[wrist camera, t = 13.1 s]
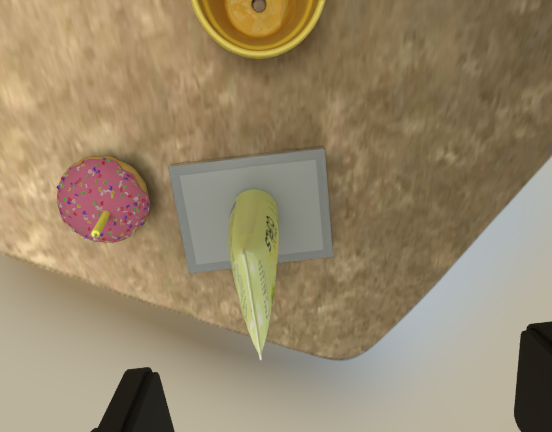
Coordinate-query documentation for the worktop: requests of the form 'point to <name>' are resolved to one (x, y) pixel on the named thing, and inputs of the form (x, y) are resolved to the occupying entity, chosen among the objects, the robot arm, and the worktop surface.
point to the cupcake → (103, 199)
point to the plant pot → (258, 24)
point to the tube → (254, 258)
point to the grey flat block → (244, 176)
